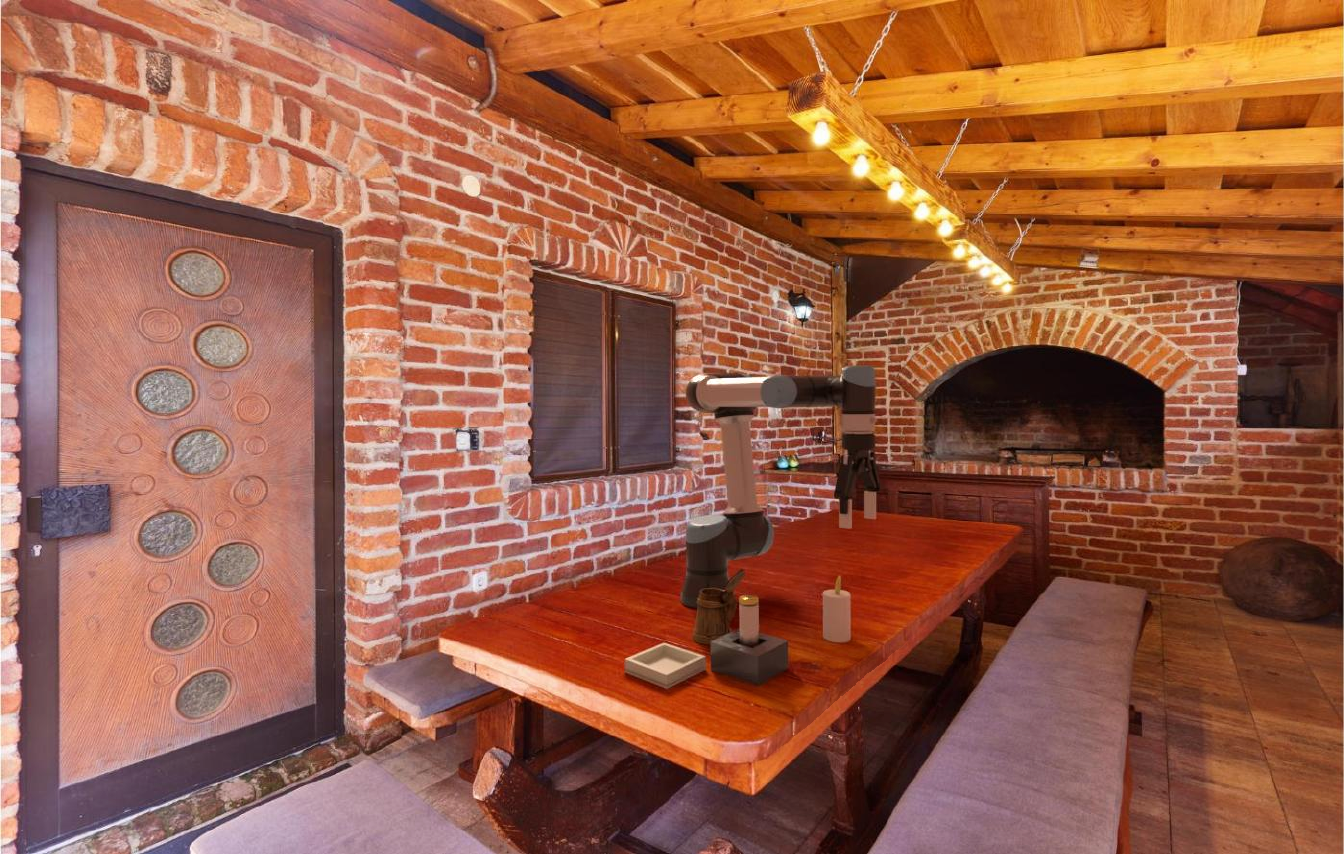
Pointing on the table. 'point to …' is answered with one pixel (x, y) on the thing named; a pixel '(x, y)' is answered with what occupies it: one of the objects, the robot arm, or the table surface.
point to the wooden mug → (716, 611)
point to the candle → (836, 614)
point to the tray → (665, 665)
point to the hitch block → (749, 658)
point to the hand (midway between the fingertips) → (858, 523)
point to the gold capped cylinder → (749, 620)
